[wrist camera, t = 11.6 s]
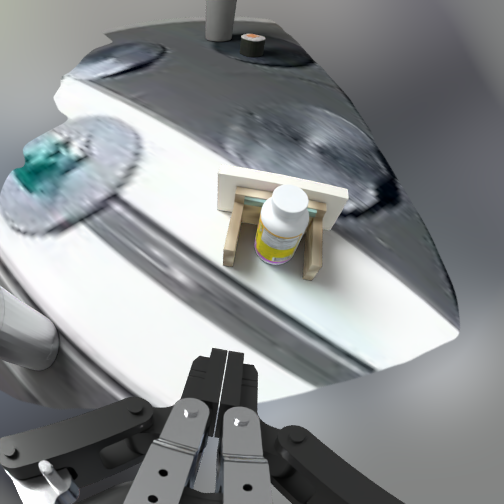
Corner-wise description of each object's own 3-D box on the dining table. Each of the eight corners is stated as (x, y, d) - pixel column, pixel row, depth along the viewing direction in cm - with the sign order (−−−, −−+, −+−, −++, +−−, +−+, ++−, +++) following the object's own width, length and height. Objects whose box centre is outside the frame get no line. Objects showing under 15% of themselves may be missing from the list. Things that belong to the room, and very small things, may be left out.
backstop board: (217, 209, 49) (218, 173, 41) (219, 200, 50) (220, 164, 42) (330, 230, 49) (348, 198, 41) (329, 221, 50) (347, 189, 42)
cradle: (223, 265, 44) (223, 241, 38) (234, 213, 49) (236, 186, 43) (311, 280, 44) (326, 260, 38) (313, 228, 49) (326, 203, 43)
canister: (234, 35, 96) (242, -33, 66) (232, 43, 90) (240, -32, 60) (205, 34, 95) (209, -34, 65) (200, 42, 89) (204, -33, 59)
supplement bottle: (268, 224, 49) (282, 170, 37) (301, 245, 47) (325, 195, 36) (245, 251, 46) (254, 199, 34) (280, 274, 44) (300, 228, 33)
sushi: (252, 58, 83) (255, 39, 76) (235, 52, 85) (237, 34, 78) (267, 54, 86) (269, 36, 79) (250, 48, 88) (252, 31, 81)
